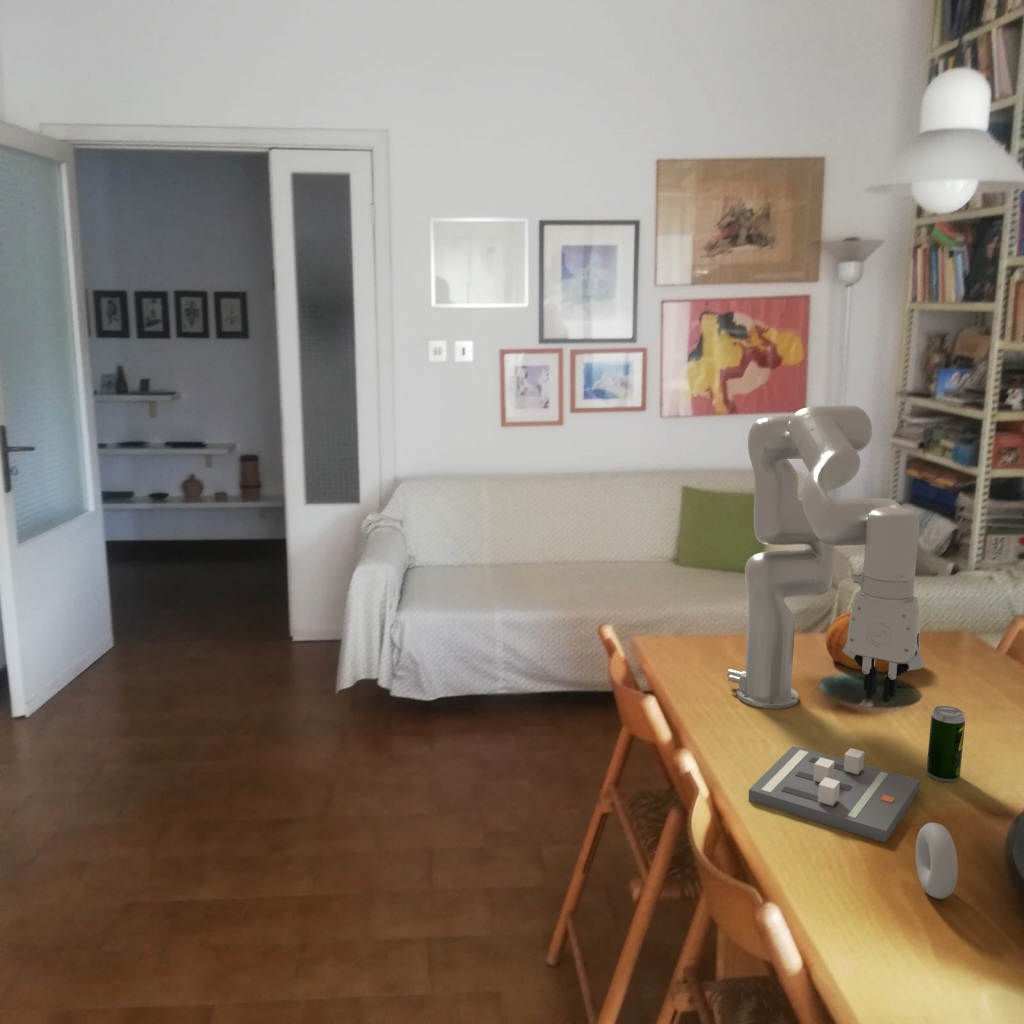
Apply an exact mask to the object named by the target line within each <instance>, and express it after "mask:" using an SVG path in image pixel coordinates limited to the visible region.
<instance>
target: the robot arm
mask: <svg viewBox="0 0 1024 1024" xmlns="http://www.w3.org/2000/svg"><path fill="white" fill-rule="evenodd" d="M872 436H873V425H872V421H871V419H870V416H869V415H868V413H866V411H865V410H864V409H862V408H861V407H859V406H857V405H848V404H847V405H812V406H808V407H803V408H801V409H799V410H797V411H796V412H794V413H793V414H792V415H774V416H767V417H763V418H760V419H757V420H756V421H754V423H752V425H751V426H750V429H749V432H748V436H747V449H748V451H747V452H748V455H749V459H750V463H751V467H752V469H753V471H752V472H753V475H754V477H753V479H754V491H753V492H754V493H753V498H754V499H753V531H754V536H755V538H756V540H757V541H758V543H761V544H763V545H768V546H797V545H799V546H800V545H804V548H805V549H803V550H801V549H800V550H797V549H796V550H768V551H761V552H758V553H755V554H753V555H752V556H750V557H749V558H748V560H747V561H746V563H745V567H744V578H745V586H746V595H747V619H746V621H747V623H746V624H747V625H746V626H747V627H746V646H745V648H746V650H745V666H744V667H745V668H744V670H743V671H739V670H736V669H731V668H729V669H728V671H727V675H726V676H727V680H728V682H731V683H737V684H738V685H739V686H738V687H737V688H736V696H737V698H738V699H739V700H740V701H741V702H743V703H745V704H747V705H749V706H752V707H755V708H756V707H757V708H762V709H770V710H772V709H773V710H776V709H778V710H779V709H785V708H786V709H787V708H790V707H793V706H795V705H796V704H797V703H798V702H799V697H800V695H799V693H798V691H797V690H795V688H792V684H793V683H792V682H793V681H792V679H793V663H794V661H793V660H794V648H795V646H794V644H795V630H796V629H795V627H796V621H795V616H794V613H793V611H792V609H790V607H789V606H788V605H787V603H786V602H785V599H787V598H788V599H789V598H800V597H803V598H804V597H817V596H822V595H825V594H826V593H828V592H829V590H830V589H831V586H832V583H833V579H834V578H833V577H834V558H835V557H834V556H835V547H836V546H837V547H838V546H840V547H841V546H843V547H844V546H862V545H864V556H863V557H864V559H863V571H862V574H854V576H853V579H852V581H853V582H852V583H853V584H857V585H859V586H860V590H858V591H856V592H855V596H854V599H853V603H852V606H851V611H850V612H851V617H850V623H849V629H848V637H847V643H846V645H845V646H844V648H843V653H844V654H846V655H848V656H849V657H851V658H853V659H855V661H856V662H857V663H858V665H859V666H860V667H861V668H862V670H861V671H862V673H863V674H864V678H863V680H864V681H863V691H865V692H866V695H865V698H866V699H872V698H873V697H874V696H875V694H877V689H878V688H877V687H878V685H877V684H878V673H879V672H878V671H877V670H876V668H875V659H878V660H883V661H888V662H889V671H887V674H886V677H885V678H884V682H883V692H882V693H883V695H882V701H883V702H884V703H889V702H890V701H891V699H893V697H896V695H897V689H898V678H899V677H900V676H901V675H904V674H905V673H906V672H908V671H913V670H914V671H915V670H920V669H922V668H923V667H924V666H925V662H924V659H923V655H922V654H921V651H920V644H921V643H920V642H921V639H920V638H921V632H920V631H921V624H920V623H921V619H920V617H921V616H920V609H919V608H920V607H919V601H918V597H916V596H915V595H914V593H915V592H914V591H915V582H916V578H915V577H916V568H917V554H918V543H919V532H920V531H919V530H920V519H919V515H918V514H917V513H916V512H915V511H912V510H911V509H907V508H903V507H902V506H901V504H900V503H899V502H897V501H896V500H893V499H891V498H887V497H886V498H885V497H882V498H881V497H880V498H879V497H877V498H876V497H872V498H871V497H870V498H841V499H840V498H838V499H837V498H836V499H833V498H831V497H830V495H829V493H831V492H834V491H835V490H837V489H839V488H841V487H843V486H845V485H846V484H848V483H850V482H851V481H852V480H853V479H855V477H856V475H857V474H858V472H859V470H860V468H861V458H860V455H859V453H858V452H861V451H863V450H864V449H866V448H867V446H868V445H869V444H870V442H871V440H872ZM789 460H802V461H803V463H804V465H805V467H806V469H807V471H808V472H809V474H807V476H806V478H805V481H804V484H803V487H802V491H801V496H802V497H799V477H798V473H797V471H796V469H795V467H794V466H793V464H792V463H791V461H789Z"/></svg>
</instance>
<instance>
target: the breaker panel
mask: <svg viewBox="0 0 1024 1024" xmlns="http://www.w3.org/2000/svg"><path fill="white" fill-rule="evenodd" d="M820 757H821V758H825V759H829V760H832V761H835V763H834V778H833V779H830V778H826V777H825V778H824V779H823V780H822V781H821V783H820V782H817V781H813V778H814V764H815V763H816V762H817V761H818V759H819V758H820ZM864 763H865V751H863V750H859V749H855V748H851V747H850V748H849V749H848V750H847V751H846V752H845V753H844V759H843V758H840V757H836V756H833V755H829V754H825V753H821V752H819V751H814V750H810V749H806V748H802V747H800V746H799V747H798V746H796V745H791V747H790V748H789V749H788V750H787V751H786V752H785V753H784V754H783V755H782V756H781V757H779V759H778V760H777V761H776V762H775V763H774V764H773V765H772V766H771V767H770V768H769V769H768V770H767V771H766V772H765V773H764V774H763V775H762V776H761V777H760V778H759V779H758V780H757V781H756V782H755V783H754V784H753V785H752V786H751V787H749V788H748V801H749V802H752V803H756V804H758V805H762V806H765V807H767V808H772V809H774V810H777V811H782V812H785V813H788V814H789V815H790V814H791V815H793V816H797V817H800V818H804V819H806V820H807V819H808V820H810V821H813V822H816V823H820V824H823V825H826V826H829V827H833V828H837V829H839V830H842V831H845V832H849V833H852V834H855V835H859V836H861V837H865V838H868V839H870V840H874V841H878V842H881V843H884V844H886V842H887V840H889V838H890V836H891V834H892V833H893V831H894V830H895V828H896V827H897V825H898V824H899V823H900V820H901V819H902V817H903V815H904V814H905V813H906V811H907V810H908V808H909V807H910V805H911V804H912V802H913V801H914V799H915V797H917V795H918V793H919V791H920V782H921V779H918V778H916V777H911V776H909V775H908V776H907V775H904V774H900V773H896V772H892V771H889V770H886V769H881V768H877V767H874V766H871V765H866V764H864Z"/></svg>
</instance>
